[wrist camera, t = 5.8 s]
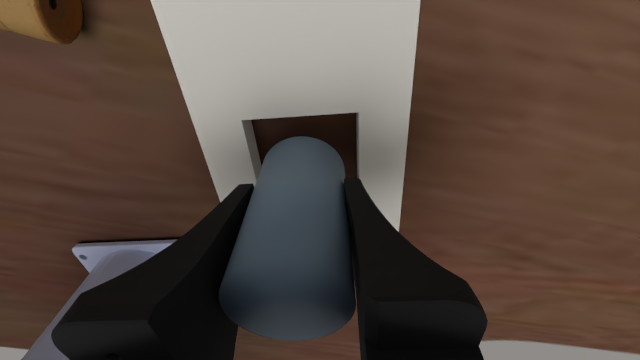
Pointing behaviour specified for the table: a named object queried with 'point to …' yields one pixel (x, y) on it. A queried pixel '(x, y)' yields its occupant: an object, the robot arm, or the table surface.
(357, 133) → the pin board
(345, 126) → the table surface
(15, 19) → the kendama
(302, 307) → the loose pin
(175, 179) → the table surface
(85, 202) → the table surface
